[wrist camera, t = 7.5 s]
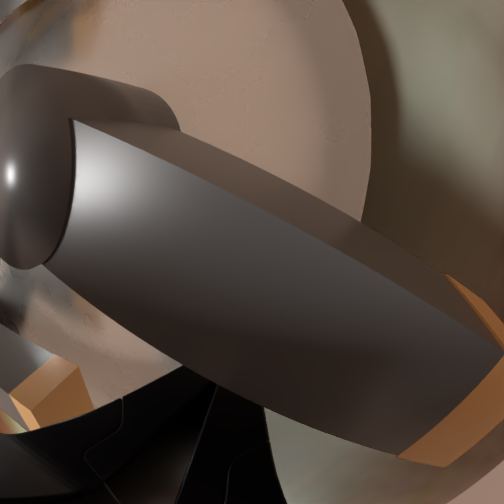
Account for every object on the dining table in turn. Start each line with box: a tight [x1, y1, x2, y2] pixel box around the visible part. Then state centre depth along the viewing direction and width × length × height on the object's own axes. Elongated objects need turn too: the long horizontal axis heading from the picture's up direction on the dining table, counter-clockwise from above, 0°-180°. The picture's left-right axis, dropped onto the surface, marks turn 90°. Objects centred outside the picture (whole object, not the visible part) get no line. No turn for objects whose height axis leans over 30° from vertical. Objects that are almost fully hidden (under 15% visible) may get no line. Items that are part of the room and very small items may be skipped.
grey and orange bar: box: [0, 64, 504, 468], centre depth 5 cm, size 11×4×4 cm, turn 65°
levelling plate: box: [0, 0, 371, 409], centre depth 9 cm, size 25×25×2 cm
